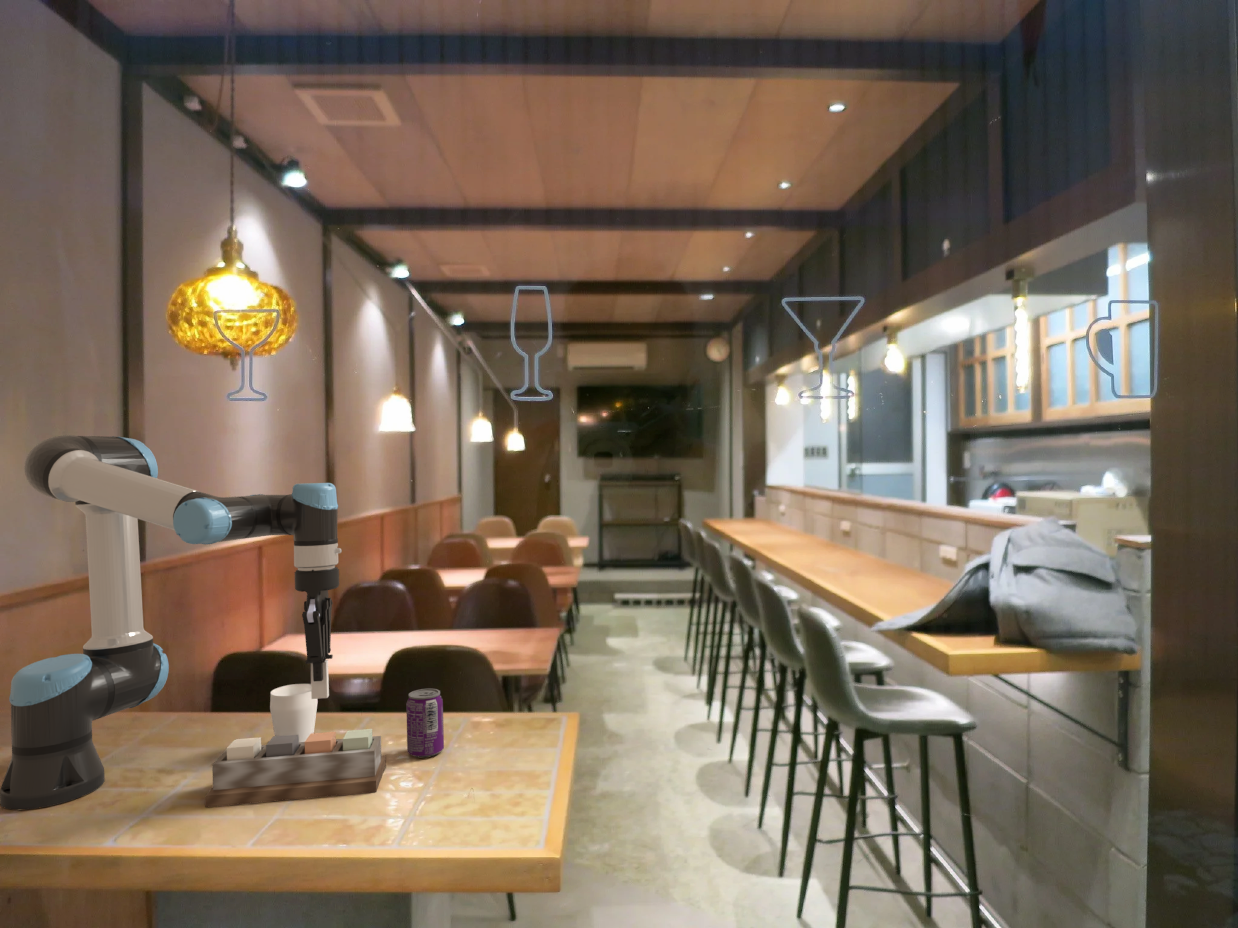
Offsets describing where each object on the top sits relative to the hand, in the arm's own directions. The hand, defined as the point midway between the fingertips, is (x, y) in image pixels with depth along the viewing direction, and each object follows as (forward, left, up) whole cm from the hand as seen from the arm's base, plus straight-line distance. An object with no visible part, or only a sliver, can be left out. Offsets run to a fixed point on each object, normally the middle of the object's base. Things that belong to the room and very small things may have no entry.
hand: (320, 697), depth 137 cm
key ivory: (-13, 0, -10) cm, 17 cm away
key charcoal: (-7, 0, -10) cm, 12 cm away
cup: (-10, +20, -16) cm, 27 cm away
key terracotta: (0, 0, -10) cm, 10 cm away
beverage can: (+17, +11, -16) cm, 26 cm away
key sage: (+6, 0, -10) cm, 12 cm away
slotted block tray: (-4, 0, -16) cm, 16 cm away
